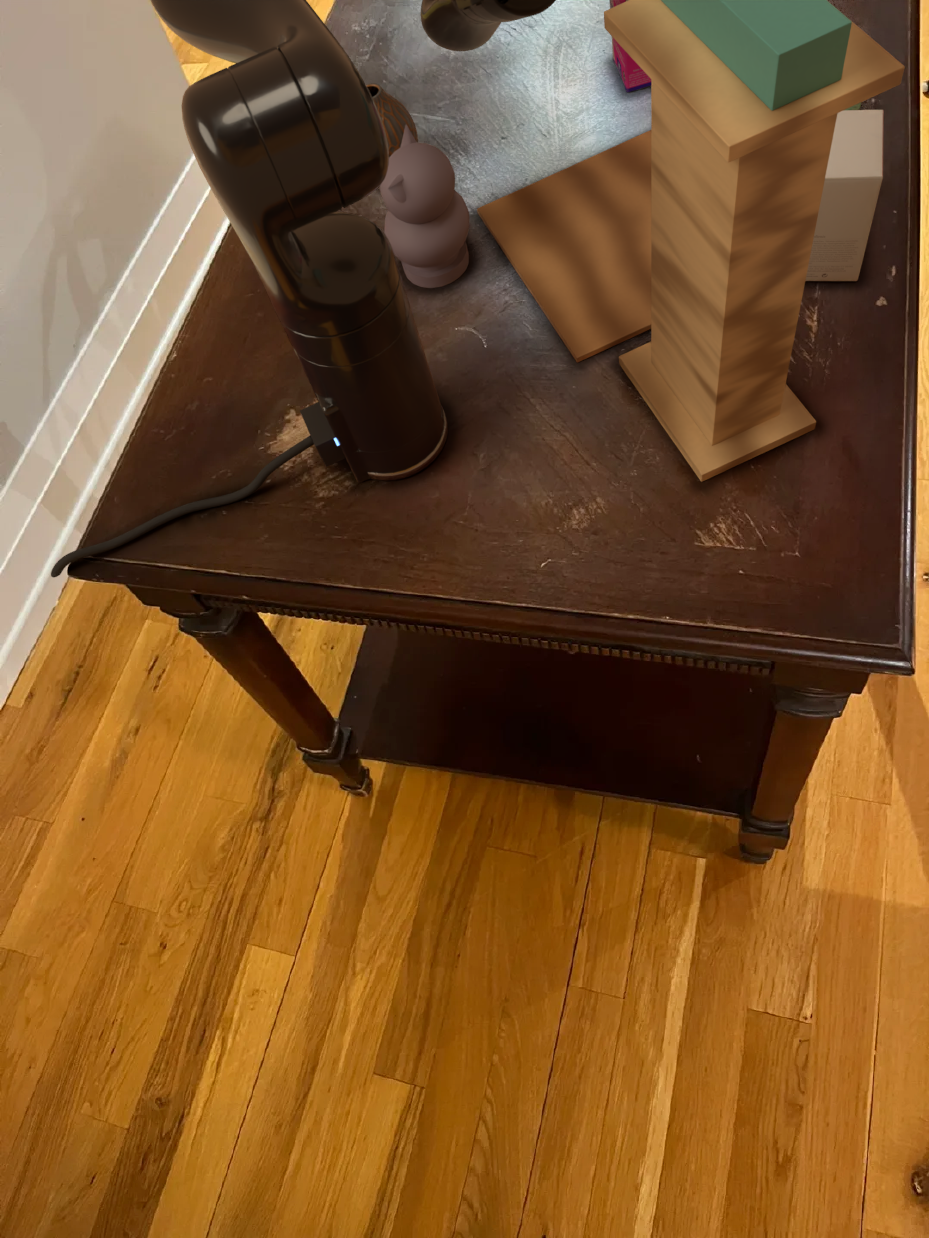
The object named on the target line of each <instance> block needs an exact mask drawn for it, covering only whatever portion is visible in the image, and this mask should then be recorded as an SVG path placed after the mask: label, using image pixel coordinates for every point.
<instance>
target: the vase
mask: <svg viewBox="0 0 929 1238" xmlns="http://www.w3.org/2000/svg"><path fill="white" fill-rule="evenodd" d="M365 84H366V83H365ZM366 86H367V88H368V90H369V92H370V94H371V96H372V98H373V101H374V103H375V105H376V107H377V110H378V112H379V114H380V117H381V120H382V123H383V126H384V129H385V133H386V137H387V142H388V150H389V157H390V156H391V155H392V154H393V153H394V152H395V151H396V150H398V149H399V148H401V143H402V139H403V134H404V130H405V125H406V124H407V126H408V128H409V130H410V131H411V133H412V135H413V137H414V138H415V140H416V142H418V143H419V136H418V131H417V127H416V123H415V121H414V119H413V117H412V115H411V113H410V112H409V110H408V109H407V107H406V106H405V105H404V104H403V103H402V102H401V101H400V100H398V99H397V98H396V97H394V96H393V95H391V94H389V93H388V92H387V91H386V90H385V89H384V88H383V87H382V86H381V85H380V84H379V83H375V82H370V83H367V84H366Z"/></svg>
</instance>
